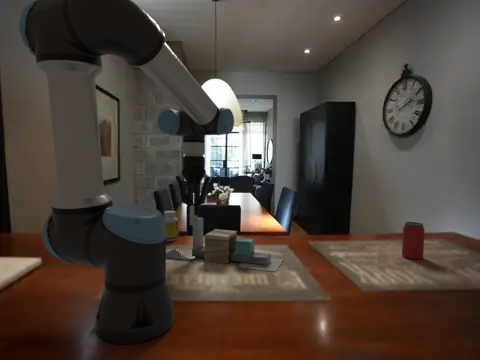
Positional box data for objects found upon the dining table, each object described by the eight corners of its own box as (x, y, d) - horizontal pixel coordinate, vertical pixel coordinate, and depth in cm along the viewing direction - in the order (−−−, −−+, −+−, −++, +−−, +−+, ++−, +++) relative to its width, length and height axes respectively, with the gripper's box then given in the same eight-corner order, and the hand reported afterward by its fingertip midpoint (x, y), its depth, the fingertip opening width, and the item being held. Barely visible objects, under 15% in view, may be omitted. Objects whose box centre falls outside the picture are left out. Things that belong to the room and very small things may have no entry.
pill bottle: (175, 241, 125) (176, 213, 125) (160, 241, 126) (159, 212, 125) (179, 237, 132) (179, 210, 131) (164, 237, 132) (164, 210, 131)
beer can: (417, 254, 112) (419, 221, 111) (426, 260, 106) (428, 225, 105) (398, 254, 113) (400, 221, 112) (406, 259, 106) (408, 225, 105)
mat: (276, 272, 93) (276, 271, 93) (237, 267, 96) (237, 266, 96) (283, 260, 104) (283, 259, 104) (248, 256, 108) (249, 255, 108)
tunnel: (227, 264, 99) (227, 237, 99) (204, 261, 102) (204, 234, 101) (236, 256, 108) (236, 231, 107) (215, 253, 110) (215, 229, 109)
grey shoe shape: (191, 261, 101) (191, 260, 101) (159, 257, 105) (159, 256, 105) (206, 251, 113) (206, 250, 113) (177, 248, 117) (177, 247, 117)
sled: (267, 265, 97) (268, 225, 96) (192, 256, 105) (192, 219, 104) (270, 260, 102) (271, 222, 101) (198, 251, 110) (198, 217, 109)
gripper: (215, 156, 107) (215, 223, 109) (181, 155, 111) (181, 221, 113) (207, 155, 100) (206, 228, 101) (171, 155, 104) (171, 225, 105)
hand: (193, 224), depth 107 cm, fingers closed
